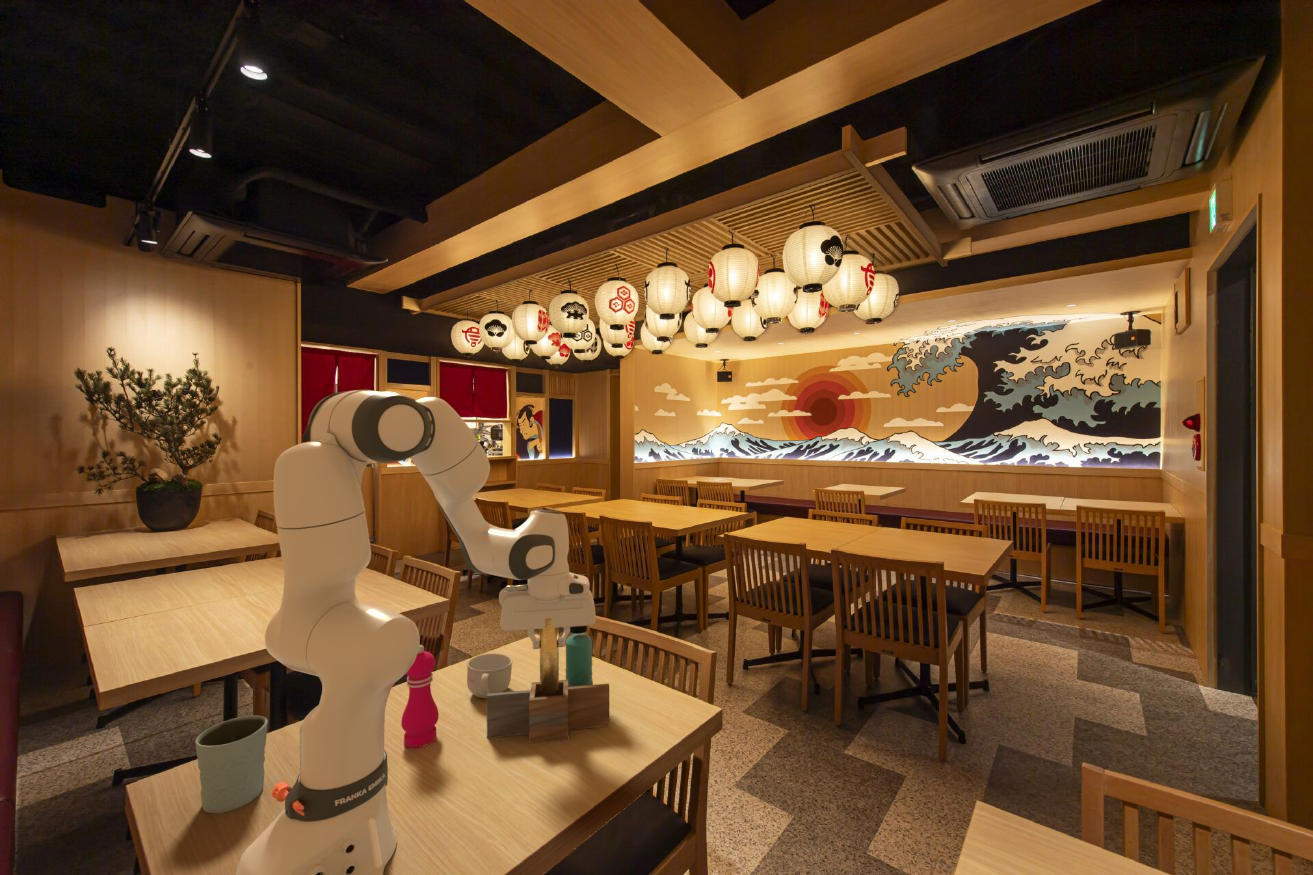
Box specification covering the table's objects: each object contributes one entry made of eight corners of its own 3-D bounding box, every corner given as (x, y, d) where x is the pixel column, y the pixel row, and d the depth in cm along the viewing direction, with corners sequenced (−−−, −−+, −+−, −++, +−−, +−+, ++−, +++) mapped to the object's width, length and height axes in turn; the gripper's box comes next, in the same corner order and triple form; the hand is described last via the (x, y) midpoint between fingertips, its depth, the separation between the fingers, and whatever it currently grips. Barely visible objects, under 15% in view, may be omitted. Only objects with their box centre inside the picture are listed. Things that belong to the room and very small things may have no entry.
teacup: (476, 681, 138) (476, 651, 137) (518, 682, 137) (517, 651, 137) (454, 709, 124) (454, 675, 124) (500, 710, 123) (499, 676, 123)
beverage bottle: (581, 715, 121) (580, 628, 121) (559, 707, 124) (558, 623, 124) (598, 703, 126) (598, 619, 126) (577, 695, 130) (576, 614, 130)
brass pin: (549, 694, 112) (548, 620, 112) (536, 689, 114) (535, 616, 114) (562, 687, 115) (562, 614, 115) (549, 682, 118) (549, 610, 117)
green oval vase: (211, 824, 88) (211, 752, 88) (185, 803, 93) (184, 735, 92) (279, 788, 97) (279, 723, 96) (251, 771, 101) (251, 709, 101)
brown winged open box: (610, 735, 113) (610, 693, 113) (484, 747, 109) (484, 704, 109) (608, 715, 121) (607, 676, 121) (490, 726, 117) (489, 685, 117)
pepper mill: (424, 751, 108) (424, 653, 107) (393, 747, 109) (392, 650, 109) (445, 731, 115) (445, 640, 114) (416, 728, 116) (415, 637, 116)
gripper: (497, 590, 110) (497, 656, 110) (596, 585, 113) (596, 649, 113) (500, 582, 116) (501, 644, 116) (594, 577, 119) (595, 638, 119)
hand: (549, 646), depth 115 cm, fingers closed on brass pin, 4 cm apart
